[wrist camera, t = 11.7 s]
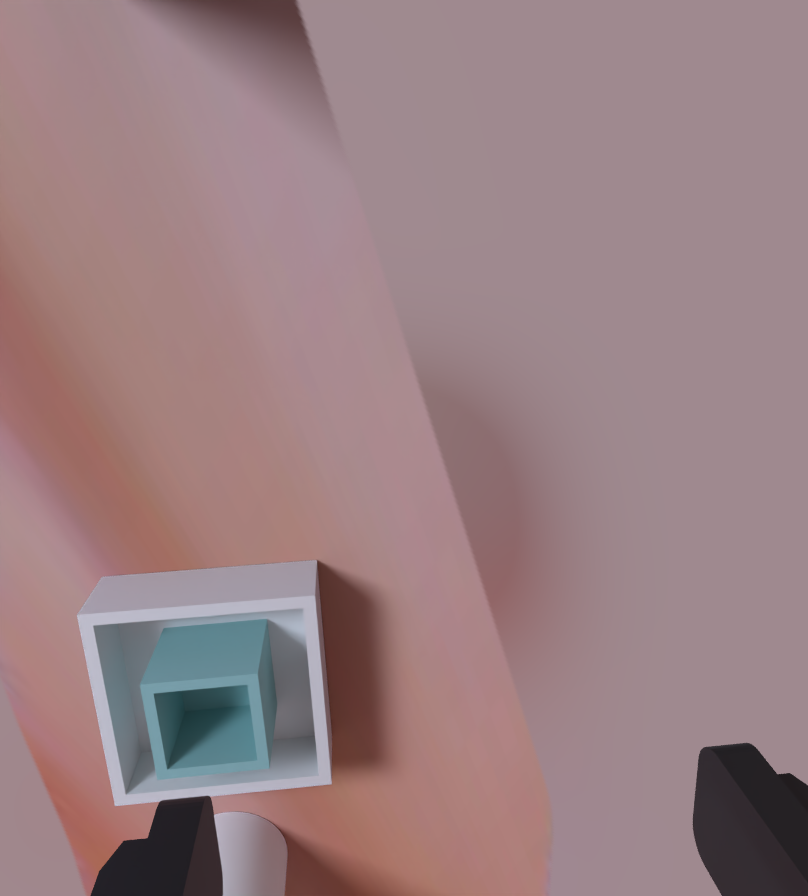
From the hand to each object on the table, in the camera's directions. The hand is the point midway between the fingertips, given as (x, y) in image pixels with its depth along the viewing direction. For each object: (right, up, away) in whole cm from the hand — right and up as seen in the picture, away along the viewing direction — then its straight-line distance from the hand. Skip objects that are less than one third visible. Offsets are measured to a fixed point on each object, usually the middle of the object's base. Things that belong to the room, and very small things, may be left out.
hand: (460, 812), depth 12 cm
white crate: (-12, -7, +33) cm, 36 cm away
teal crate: (-12, -7, +32) cm, 35 cm away
